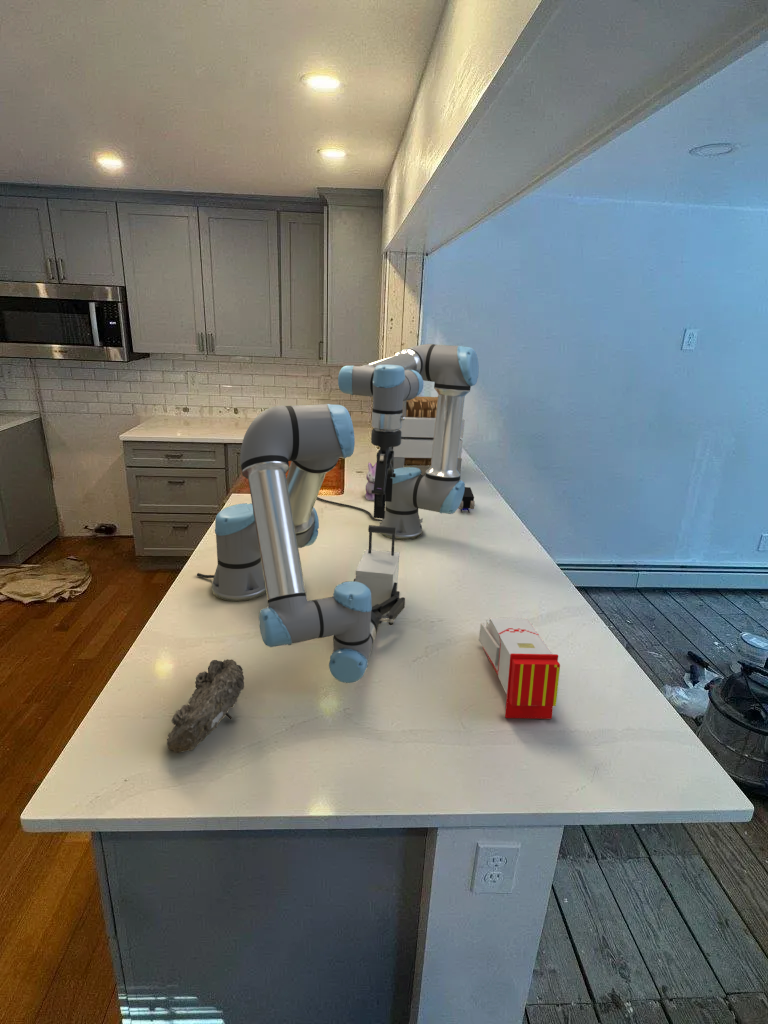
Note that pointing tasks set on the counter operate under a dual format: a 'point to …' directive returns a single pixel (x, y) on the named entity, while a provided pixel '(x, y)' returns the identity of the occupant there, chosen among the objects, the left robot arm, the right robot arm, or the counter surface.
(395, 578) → the chest
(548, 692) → the toy
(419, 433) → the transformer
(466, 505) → the figurine character
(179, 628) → the counter surface
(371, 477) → the figurine
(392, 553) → the lid
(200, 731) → the fossil
